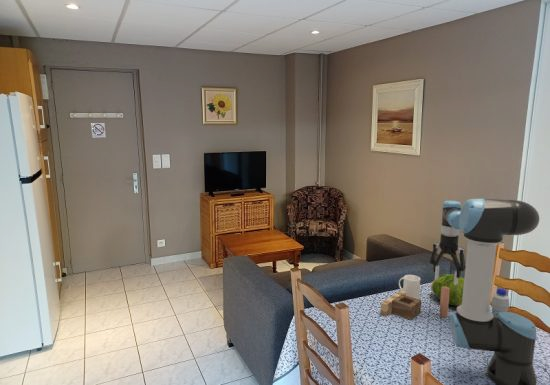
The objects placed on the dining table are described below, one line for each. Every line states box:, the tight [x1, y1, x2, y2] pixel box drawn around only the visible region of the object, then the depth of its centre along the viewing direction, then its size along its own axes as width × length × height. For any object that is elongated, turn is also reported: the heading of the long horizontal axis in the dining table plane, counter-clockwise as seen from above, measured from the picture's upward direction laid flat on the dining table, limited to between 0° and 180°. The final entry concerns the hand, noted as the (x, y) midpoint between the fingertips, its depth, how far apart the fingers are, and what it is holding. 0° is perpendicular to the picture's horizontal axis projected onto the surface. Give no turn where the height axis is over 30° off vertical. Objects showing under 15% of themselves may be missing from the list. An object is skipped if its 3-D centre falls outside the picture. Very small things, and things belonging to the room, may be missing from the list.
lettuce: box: [430, 273, 465, 307], centre depth 201 cm, size 16×21×15 cm
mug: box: [398, 274, 421, 300], centre depth 205 cm, size 12×8×12 cm
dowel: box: [438, 286, 450, 319], centre depth 186 cm, size 4×4×14 cm
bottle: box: [491, 288, 510, 317], centre depth 170 cm, size 7×7×20 cm
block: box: [391, 295, 422, 321], centre depth 189 cm, size 10×10×6 cm
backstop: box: [380, 290, 406, 317], centre depth 193 cm, size 20×3×6 cm, turn 136°
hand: (446, 281), depth 184 cm, fingers open, 8 cm apart
